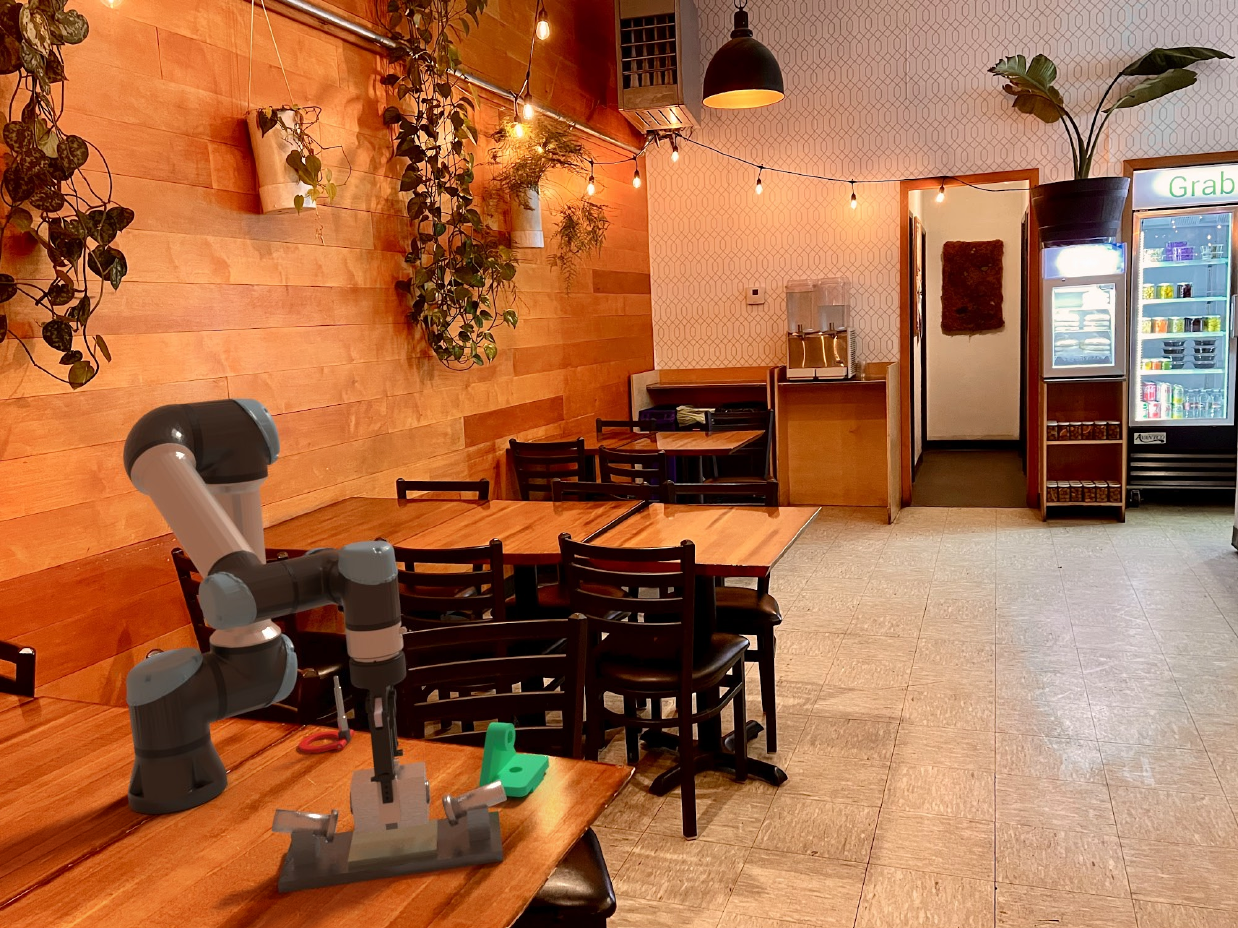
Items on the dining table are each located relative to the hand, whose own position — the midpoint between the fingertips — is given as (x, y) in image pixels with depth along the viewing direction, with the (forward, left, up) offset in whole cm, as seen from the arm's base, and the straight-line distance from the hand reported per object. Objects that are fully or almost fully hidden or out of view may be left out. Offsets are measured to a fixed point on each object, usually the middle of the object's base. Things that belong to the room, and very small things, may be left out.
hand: (391, 811), depth 140 cm
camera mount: (+18, +18, -7) cm, 27 cm away
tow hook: (-15, +45, -7) cm, 48 cm away
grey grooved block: (0, 0, -1) cm, 1 cm away
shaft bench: (0, 0, -6) cm, 6 cm away
